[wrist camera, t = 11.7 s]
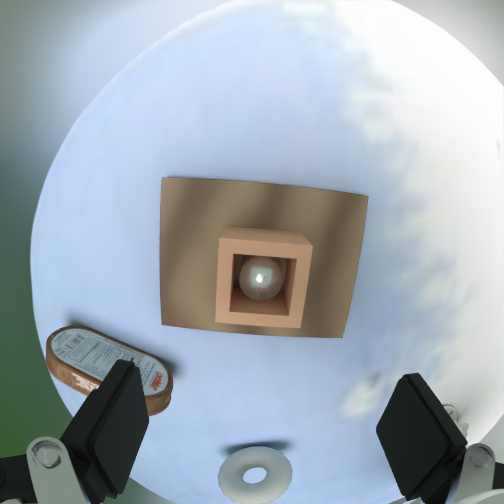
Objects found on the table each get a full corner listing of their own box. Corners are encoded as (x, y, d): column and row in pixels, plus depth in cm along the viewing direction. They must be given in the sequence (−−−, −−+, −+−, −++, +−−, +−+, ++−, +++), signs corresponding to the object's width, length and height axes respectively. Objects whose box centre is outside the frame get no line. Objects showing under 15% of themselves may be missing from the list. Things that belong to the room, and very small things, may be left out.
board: (362, 195, 25) (368, 196, 23) (338, 330, 28) (342, 337, 27) (166, 177, 24) (161, 177, 23) (165, 317, 28) (161, 324, 26)
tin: (68, 332, 29) (32, 368, 21) (69, 312, 28) (29, 346, 20) (177, 380, 30) (160, 431, 22) (183, 361, 29) (164, 413, 21)
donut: (224, 457, 34) (219, 510, 24) (217, 445, 33) (210, 501, 23) (291, 449, 33) (297, 504, 24) (287, 436, 33) (293, 494, 23)
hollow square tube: (301, 232, 24) (312, 245, 19) (292, 301, 26) (300, 328, 21) (226, 226, 24) (219, 237, 19) (222, 296, 26) (215, 322, 21)
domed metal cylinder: (280, 248, 24) (285, 261, 21) (276, 283, 25) (280, 301, 21) (242, 245, 24) (240, 258, 21) (240, 280, 25) (237, 298, 21)
